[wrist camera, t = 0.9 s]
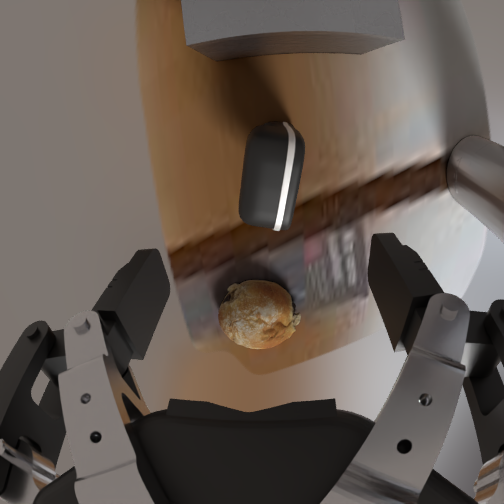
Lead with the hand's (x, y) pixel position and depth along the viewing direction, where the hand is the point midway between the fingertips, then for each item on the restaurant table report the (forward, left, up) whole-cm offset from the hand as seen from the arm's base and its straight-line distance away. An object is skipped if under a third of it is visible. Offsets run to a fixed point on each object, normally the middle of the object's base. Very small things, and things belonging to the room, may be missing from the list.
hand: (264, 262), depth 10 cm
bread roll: (+3, +20, -20) cm, 28 cm away
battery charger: (0, 0, -20) cm, 20 cm away
